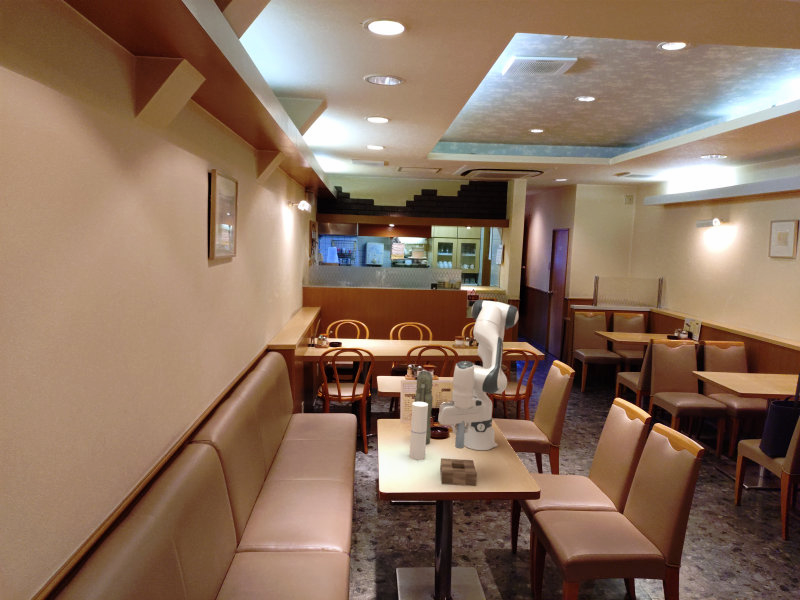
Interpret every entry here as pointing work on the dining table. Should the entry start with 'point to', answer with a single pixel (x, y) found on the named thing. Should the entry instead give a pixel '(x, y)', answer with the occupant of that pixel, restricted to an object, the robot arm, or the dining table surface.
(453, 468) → the socket block
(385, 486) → the dining table surface
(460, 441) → the peg
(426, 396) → the thermos
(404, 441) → the dining table surface
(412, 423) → the cylindrical container
